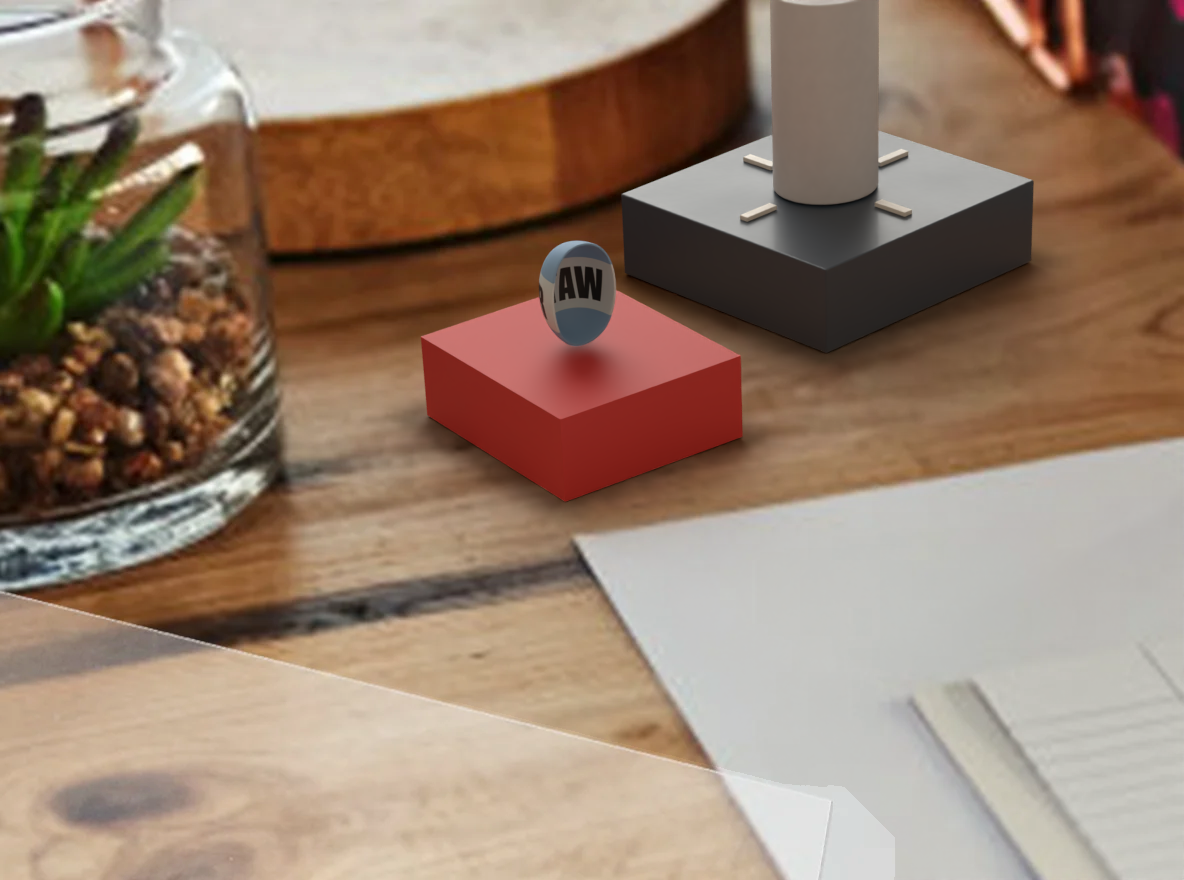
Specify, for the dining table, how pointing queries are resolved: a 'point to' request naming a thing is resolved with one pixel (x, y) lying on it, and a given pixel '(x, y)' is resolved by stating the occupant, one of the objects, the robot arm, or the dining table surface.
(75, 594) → the dining table surface
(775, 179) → the cylinder
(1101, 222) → the dining table surface
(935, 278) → the base
